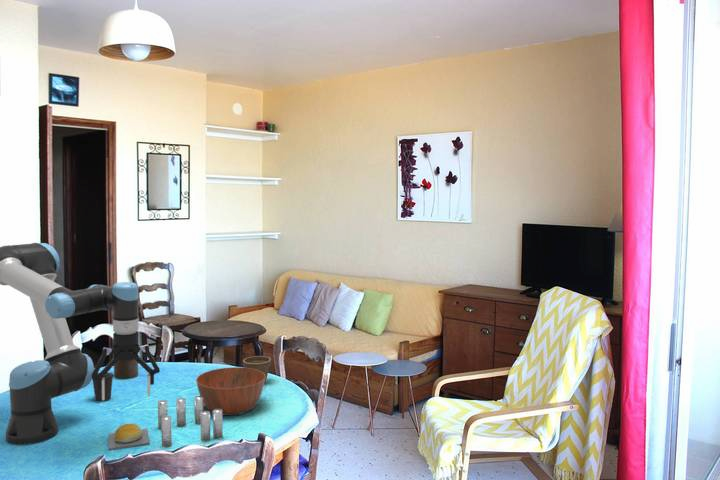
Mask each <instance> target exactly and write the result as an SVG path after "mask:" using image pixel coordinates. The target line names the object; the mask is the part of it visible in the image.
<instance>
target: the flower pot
mask: <svg viewBox="0 0 720 480" xmlns="http://www.w3.org/2000/svg"><path fill="white" fill-rule="evenodd" d="M242 363H243V364H242V366H243V368H252V369H256V370H259V371H261V372H263V373H264V374H265V382H264V385H265V384H266V382H267V378H268V375H269V369H270V366H271V365H272V359H271V357H268V356H264V355H255V356H249V357H246V358H243V360H242Z"/></svg>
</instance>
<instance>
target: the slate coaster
mask: <svg viewBox="0 0 720 480" xmlns="http://www.w3.org/2000/svg"><path fill="white" fill-rule="evenodd" d="M141 430H142V436H141V437H140V438H139V439H138V440H135V441H133V442H129V443H121V442H117V441H116V440H115V432H113V433H108V451H113V450H114V451H115V450H121V449H122V450H123V449H127V448H134V447H142V446H148V445H150V436H149V429H148V428H144V429H143V428H142V429H141Z"/></svg>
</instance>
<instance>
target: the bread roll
mask: <svg viewBox="0 0 720 480" xmlns="http://www.w3.org/2000/svg"><path fill="white" fill-rule="evenodd" d="M114 433H115V440H116V441H117V442H121V443H129V442H133V441H135V440H138V439H139V438H140V437H141V436H142V430H141V427H140V426H139V425H138V424H135V423H125V424H122V425H121V426H119V427H118V428H116V430H115V432H114Z"/></svg>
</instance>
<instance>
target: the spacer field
mask: <svg viewBox="0 0 720 480" xmlns="http://www.w3.org/2000/svg"><path fill="white" fill-rule="evenodd" d="M175 403H176V405H175V407H176V408H175V409H176V427H178V428H179V427H180V428H181V427H182V428H183V427H185V426H186V425H187V416H186V415H187V414H186V413H187V412H186V410H187V408H186V404H187V403H186V398H185V397H179V398H176V401H175ZM204 406H205V405H204V401H203V396H200V395H197V396H194V424H195V425H200V441H201V442H203V443H204V442H209V441H211V411H209V410H204V409H205V408H204ZM157 426H158V427H157V428H158V430H161V432H160V433H161V447H162V448H169V447H171V446H173V445H172V444H173V442H172V440H173V439H172V437H173V435H172V416H171V415H168V400H166V399H165V400H163V399H162V400H158V401H157ZM223 429H224V427H223V415H222V409H214V410H213V412H212V438H213V439H215V440H219V439H222V438H223Z"/></svg>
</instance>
